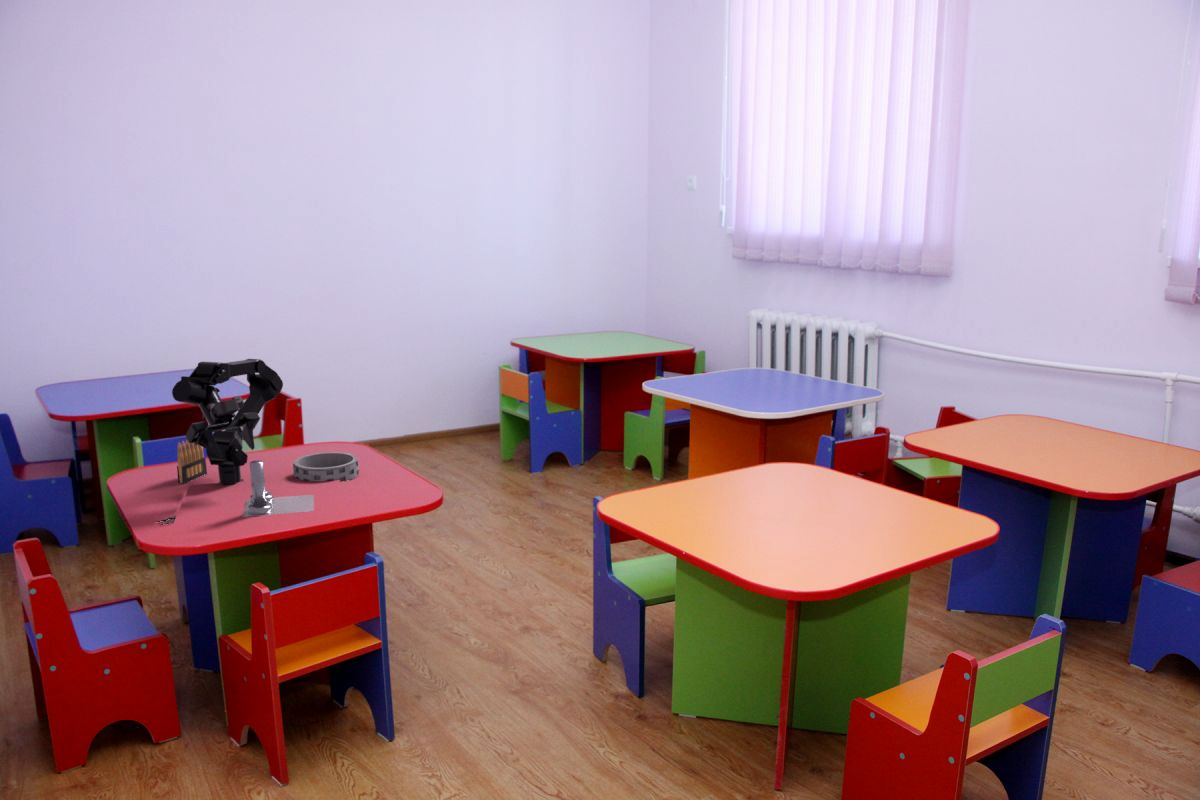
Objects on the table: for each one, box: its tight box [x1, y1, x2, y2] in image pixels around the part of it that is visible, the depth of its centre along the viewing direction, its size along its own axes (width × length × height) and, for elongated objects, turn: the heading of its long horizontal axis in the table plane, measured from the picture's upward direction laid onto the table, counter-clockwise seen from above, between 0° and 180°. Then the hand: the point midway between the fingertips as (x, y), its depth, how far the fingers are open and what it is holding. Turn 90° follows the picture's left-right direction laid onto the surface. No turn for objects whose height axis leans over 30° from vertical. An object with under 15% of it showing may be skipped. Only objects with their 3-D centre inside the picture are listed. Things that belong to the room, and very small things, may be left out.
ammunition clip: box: [176, 439, 208, 485], centre depth 271 cm, size 11×2×12 cm, turn 167°
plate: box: [242, 494, 315, 518], centre depth 245 cm, size 14×17×1 cm
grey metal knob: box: [250, 489, 274, 504], centre depth 248 cm, size 6×6×2 cm
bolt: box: [248, 460, 272, 516], centre depth 239 cm, size 6×6×13 cm
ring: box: [292, 451, 360, 483], centre depth 274 cm, size 18×18×5 cm
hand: (237, 452), depth 249 cm, fingers open, 9 cm apart
